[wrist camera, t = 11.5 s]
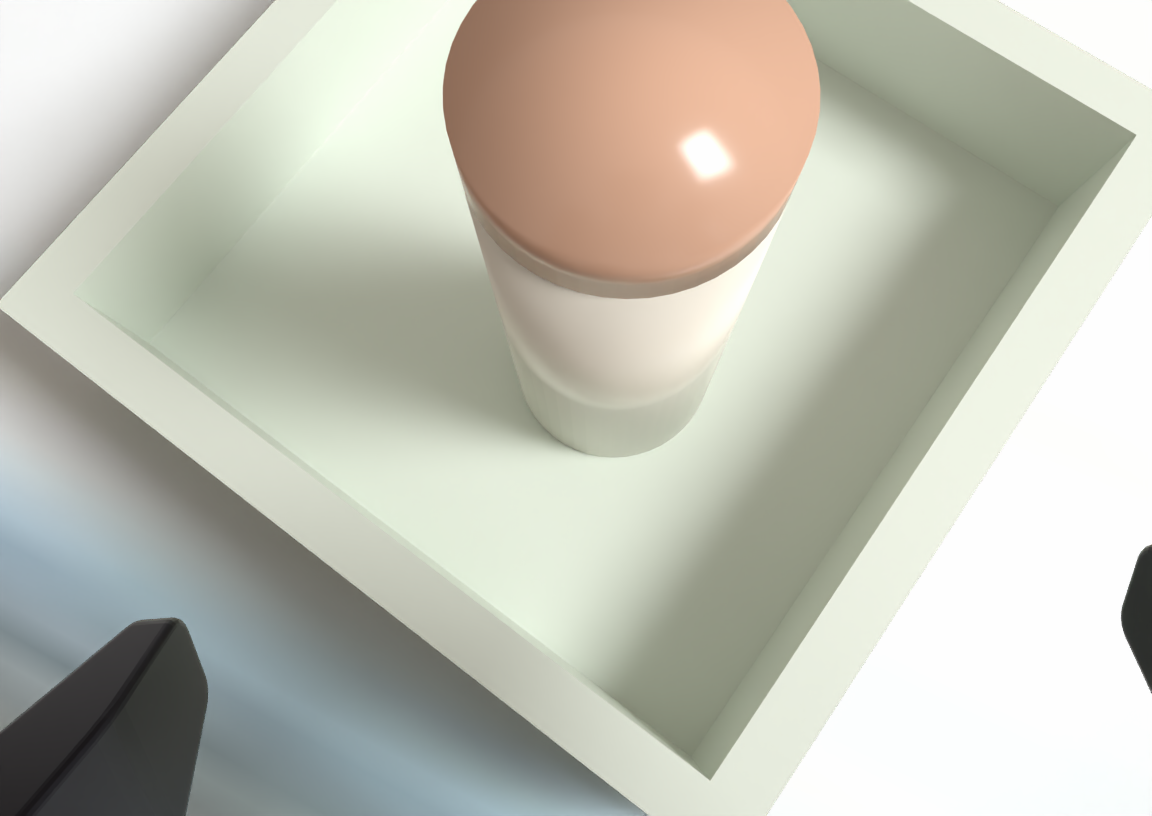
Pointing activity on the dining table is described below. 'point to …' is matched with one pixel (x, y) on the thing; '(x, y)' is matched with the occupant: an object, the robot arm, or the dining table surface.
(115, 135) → the dining table surface
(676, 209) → the jar
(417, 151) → the bin
